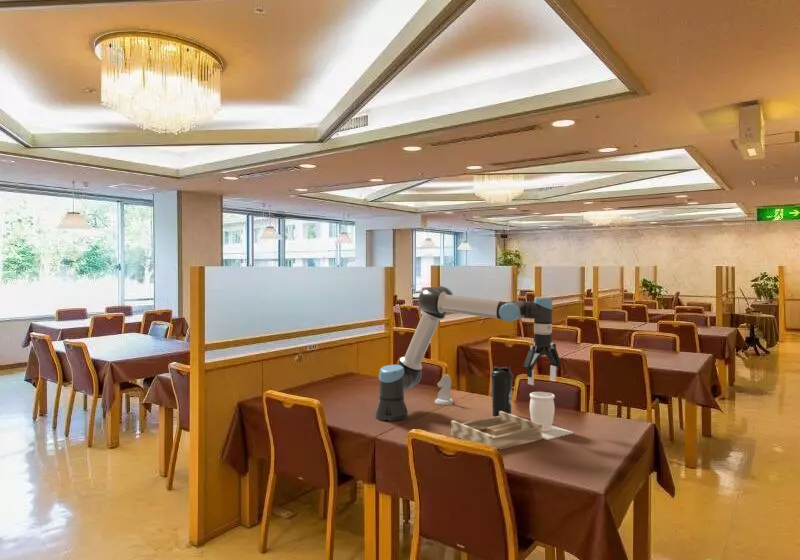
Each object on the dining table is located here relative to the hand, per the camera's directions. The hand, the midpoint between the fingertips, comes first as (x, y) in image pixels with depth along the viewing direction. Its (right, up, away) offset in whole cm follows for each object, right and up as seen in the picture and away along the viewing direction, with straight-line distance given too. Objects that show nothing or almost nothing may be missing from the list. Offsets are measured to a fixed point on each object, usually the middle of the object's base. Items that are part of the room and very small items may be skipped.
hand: (542, 382), depth 225 cm
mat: (0, -21, 0) cm, 21 cm away
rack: (-21, -21, -9) cm, 31 cm away
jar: (0, -20, 0) cm, 20 cm away
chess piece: (-38, -20, +46) cm, 63 cm away
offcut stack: (-19, -21, -13) cm, 31 cm away
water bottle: (-13, -20, +23) cm, 33 cm away
